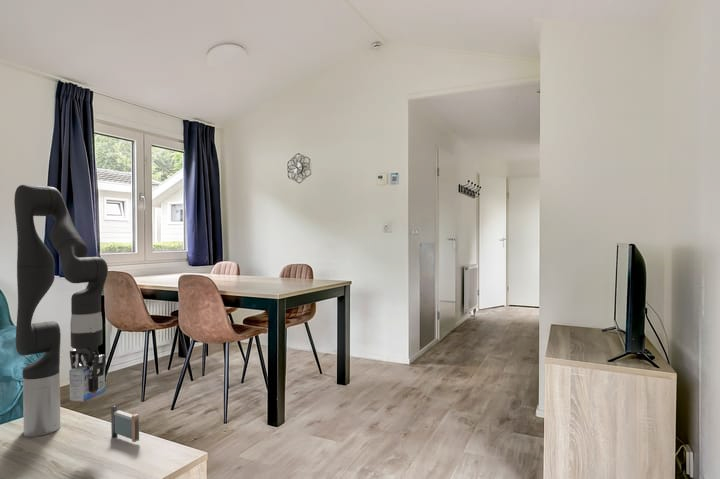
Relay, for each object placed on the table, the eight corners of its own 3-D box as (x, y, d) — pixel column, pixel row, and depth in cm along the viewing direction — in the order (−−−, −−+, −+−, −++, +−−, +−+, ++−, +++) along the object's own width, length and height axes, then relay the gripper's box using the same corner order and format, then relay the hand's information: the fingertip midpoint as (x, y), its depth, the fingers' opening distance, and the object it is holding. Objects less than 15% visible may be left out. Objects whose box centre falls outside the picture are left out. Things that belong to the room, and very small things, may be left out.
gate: (114, 434, 130) (114, 409, 130) (119, 433, 131) (118, 408, 131) (134, 442, 125) (134, 416, 125) (139, 440, 126) (138, 414, 126)
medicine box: (82, 402, 118) (82, 370, 118) (69, 401, 119) (68, 369, 119) (105, 392, 126) (105, 361, 126) (92, 390, 127) (92, 361, 127)
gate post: (110, 436, 131) (109, 406, 131) (115, 434, 132) (115, 404, 132) (113, 438, 130) (113, 407, 130) (118, 435, 131) (118, 405, 131)
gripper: (58, 328, 123) (59, 389, 123) (86, 334, 116) (87, 398, 116) (86, 323, 129) (87, 381, 129) (115, 329, 122) (115, 389, 122)
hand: (87, 389), depth 123 cm, fingers closed on medicine box, 5 cm apart
